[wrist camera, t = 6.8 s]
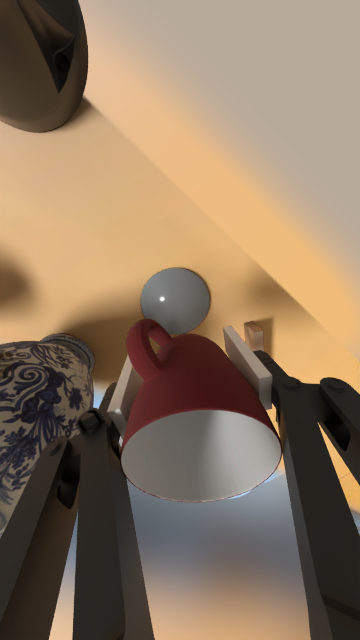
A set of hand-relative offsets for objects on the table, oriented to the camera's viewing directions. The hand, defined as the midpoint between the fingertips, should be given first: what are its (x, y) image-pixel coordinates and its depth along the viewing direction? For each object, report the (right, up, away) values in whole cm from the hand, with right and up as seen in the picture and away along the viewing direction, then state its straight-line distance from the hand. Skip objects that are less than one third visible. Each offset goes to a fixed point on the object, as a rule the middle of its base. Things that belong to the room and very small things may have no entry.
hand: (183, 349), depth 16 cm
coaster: (-1, +6, +14) cm, 15 cm away
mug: (0, +1, +1) cm, 2 cm away
